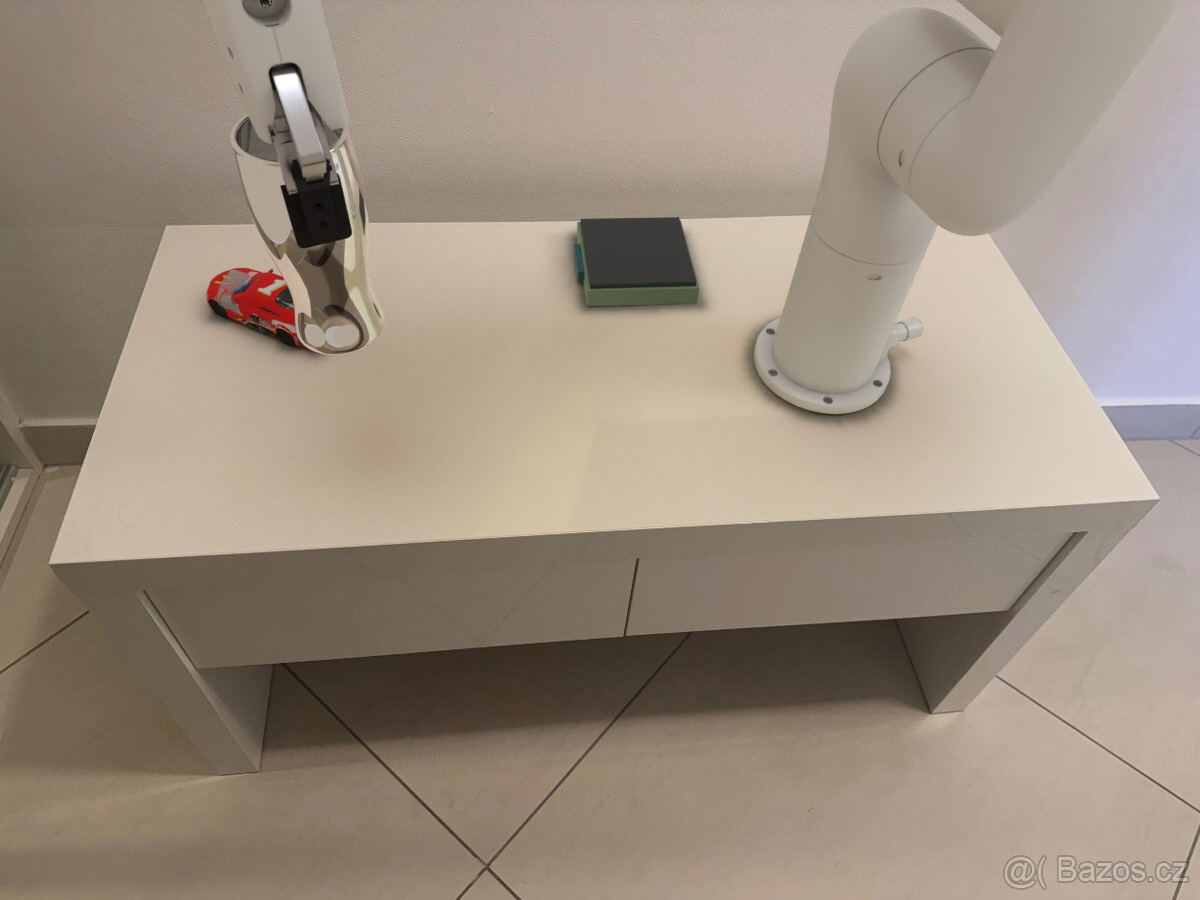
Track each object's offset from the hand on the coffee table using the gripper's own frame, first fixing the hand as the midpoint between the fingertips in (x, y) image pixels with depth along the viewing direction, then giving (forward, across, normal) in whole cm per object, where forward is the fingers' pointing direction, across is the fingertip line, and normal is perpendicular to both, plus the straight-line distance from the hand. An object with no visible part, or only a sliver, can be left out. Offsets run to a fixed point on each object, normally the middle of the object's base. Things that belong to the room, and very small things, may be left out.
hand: (309, 202), depth 53 cm
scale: (+25, +13, -31) cm, 42 cm away
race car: (+24, +19, +4) cm, 31 cm away
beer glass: (+10, 0, 0) cm, 10 cm away
